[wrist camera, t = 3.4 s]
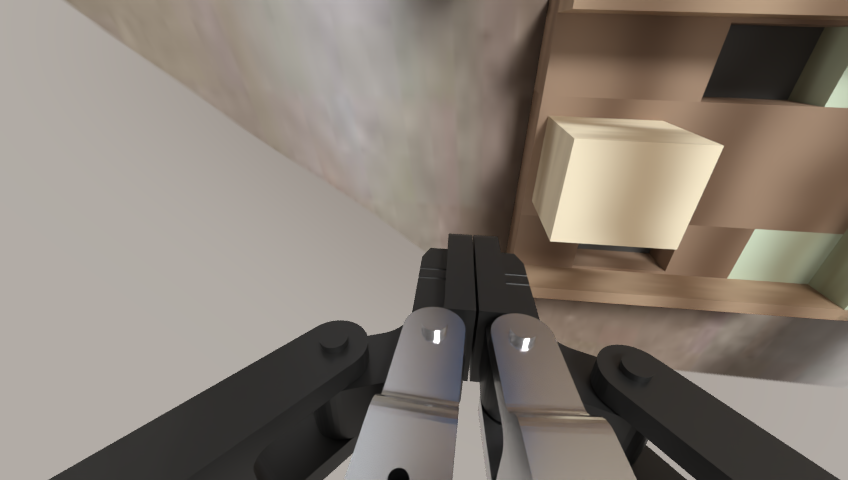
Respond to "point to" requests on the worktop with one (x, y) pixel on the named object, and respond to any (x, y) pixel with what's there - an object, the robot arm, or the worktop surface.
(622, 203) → the birch block
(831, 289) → the box
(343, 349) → the robot arm
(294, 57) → the worktop surface
